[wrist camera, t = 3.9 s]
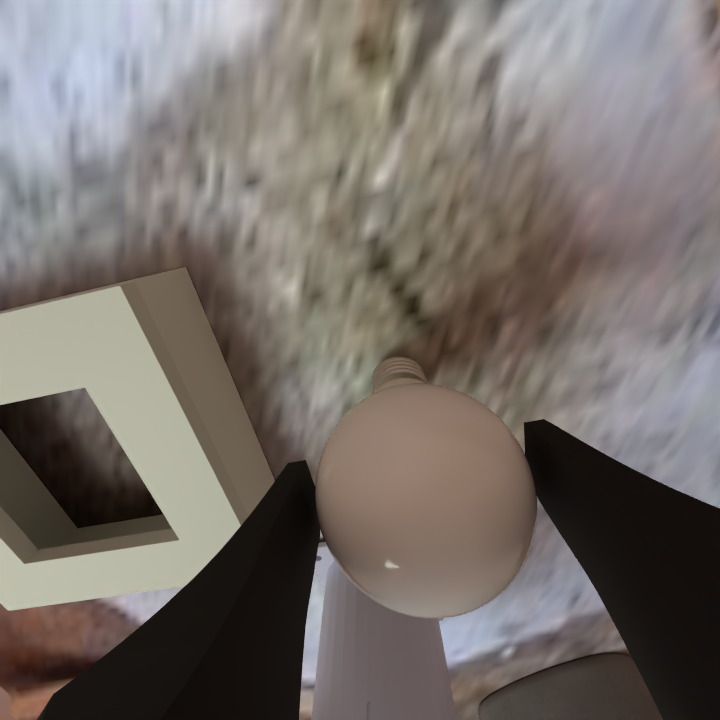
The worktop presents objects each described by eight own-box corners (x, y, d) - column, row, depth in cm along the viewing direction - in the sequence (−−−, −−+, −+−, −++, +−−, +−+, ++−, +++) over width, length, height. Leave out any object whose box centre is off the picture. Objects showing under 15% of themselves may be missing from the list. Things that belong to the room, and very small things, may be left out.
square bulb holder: (285, 504, 21) (265, 574, 17) (73, 538, 23) (8, 610, 18) (185, 266, 15) (119, 285, 11) (-91, 332, 17) (-240, 371, 13)
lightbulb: (480, 386, 18) (636, 615, 8) (382, 444, 19) (402, 699, 9) (414, 289, 16) (507, 426, 6) (310, 363, 17) (235, 574, 7)
